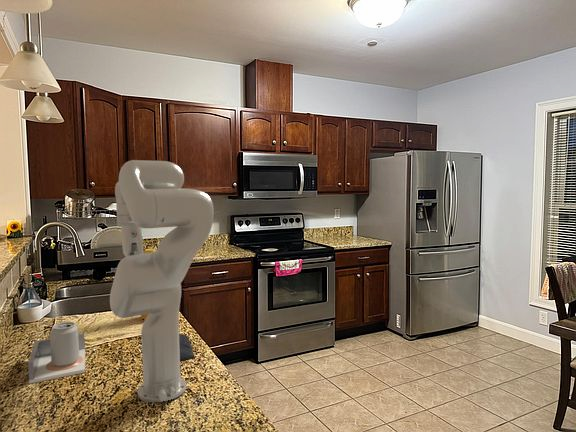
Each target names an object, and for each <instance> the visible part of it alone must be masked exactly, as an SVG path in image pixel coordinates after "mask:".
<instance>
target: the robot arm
mask: <svg viewBox="0 0 576 432" xmlns="http://www.w3.org/2000/svg"><path fill="white" fill-rule="evenodd" d="M184 182H185V174H184V172H183V169H182V168H181V167H180V166H179V165H177V164H175V162H170V161H167V160H149V159H148V160H141V159H139V160H137V159H131V160H128V161H126V162H125V163H124V164H123V165H122V166H121V168H120V170H119V173H118V181H117V182H116V184H115V187H114V196H115V202H116V203H115V205H116V221H117V224H116V225H117V226H118V227H120V228H121V245H122V246H121V247H122V253H123V255H124V257H123V258H122V259H121V260H120V261H119V263H118V264H117V267H116V271H115V274H114V278H113V281H112V286H111V289H110V293H109V306H110V309H111V312H112V313H113V315H114V316H115V317H117V318H121V319H127V318H133V317H138V316H139V317H140V316H141V315H144V314H148V316H147V318H146V319H145V320H143V321H144V322H143V323H142V326H141V335H140V336H141V354H142V356H141V357H142V375H143V376H142V377H143V379H142V381H143V382H142V384H141V385H139V387H138V388H137V392H136V393H137V398H139V399H140V400H141V401H143V402H146V403H150V402H158V403H164V402H163V401H165V402H169V401H171V399H172V400H174V399H176V398H179V397H180V396H181V395H182V394H184V393H185V392H186V390H187V380H185V378H183V377H181V360H180V350H179V334H180V307H181V305H180V304H181V301H182V300H181V298H182V282H183V281H184V279H185V277H186V275H187V273H188V271H189V268H190V267H191V264H192V262H193V260H194V259H195V256H196V254H197V253H198V252H199V250H200V249H201V248H202V247H203V246H204V244H205V242H206V241H207V240H208V238H209V235H210V233H211V232H212V231H211V230H212V227H213V222H214V215H215V214H214V213H215V212H214V211H215V209H214V208H215V207H214V203H213V200H212V199H211V197H210V196H209V195H208V193H205V192H204V191H202V190H198V189H195V188H182V187H183V185H184ZM117 226H116V227H117ZM172 227H175V228H173V229H172V230H171V231H169V232H168V233H166V235H164V236H163V238H162V239H161V240H160V242H159V244H158V246H157V249H156V251H155V252H152V253H145V251H144V244H143V243H144V242H143V233H142V229H158V228H172ZM168 400H169V401H168Z"/></svg>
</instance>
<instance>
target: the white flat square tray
mask: <svg viewBox="0 0 576 432" xmlns="http://www.w3.org/2000/svg"><path fill="white" fill-rule="evenodd" d="M85 373H86V348H85V349H81V350H79V359H78V360H77V361H76V362H75V363H74V364H72V365H69V366H65V367H56V366H55V365H53V364H52V363H51V355H47V356H41V357H40V359H39V363H38V367H37V371H36V374H35V378H34V379H33V380H29V379H28V382H29V384H35V382H36V383H40V382H44V381H45V382H46V381H49V380H50V381H51V380H55V379H60V378H65V377H69V376H75V375H79V374H85Z"/></svg>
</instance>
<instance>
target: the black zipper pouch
mask: <svg viewBox="0 0 576 432" xmlns="http://www.w3.org/2000/svg"><path fill="white" fill-rule="evenodd" d="M179 350H180V361H188V360H192V359H195V357H196V356H195V354H194V350H193V347H192V344H191V341H190V339H189V336H188V335H187V334H185V333H184V334H181V333H179Z"/></svg>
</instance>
